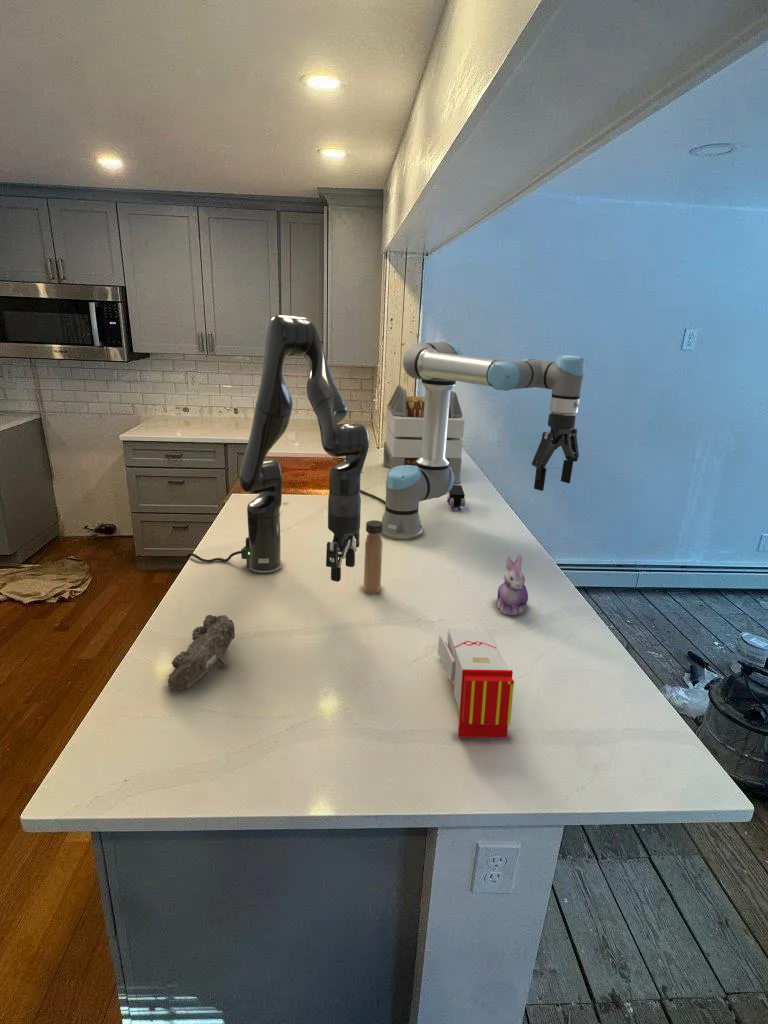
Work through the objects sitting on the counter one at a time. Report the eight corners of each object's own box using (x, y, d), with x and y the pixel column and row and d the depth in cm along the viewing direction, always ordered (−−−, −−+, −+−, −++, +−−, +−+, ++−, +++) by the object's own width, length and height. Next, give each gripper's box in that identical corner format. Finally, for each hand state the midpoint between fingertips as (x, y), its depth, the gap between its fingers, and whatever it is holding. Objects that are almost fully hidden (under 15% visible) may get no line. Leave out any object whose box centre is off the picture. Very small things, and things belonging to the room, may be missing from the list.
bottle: (382, 587, 161) (385, 523, 154) (376, 595, 157) (379, 529, 150) (367, 584, 163) (370, 520, 156) (360, 591, 158) (362, 525, 152)
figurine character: (465, 515, 224) (460, 499, 237) (467, 498, 221) (462, 483, 234) (448, 515, 224) (444, 499, 237) (450, 498, 220) (445, 482, 234)
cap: (385, 529, 155) (385, 522, 154) (378, 535, 151) (378, 527, 150) (370, 526, 156) (370, 519, 156) (363, 531, 152) (363, 524, 152)
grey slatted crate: (382, 463, 289) (386, 382, 275) (445, 464, 293) (451, 384, 279) (390, 482, 257) (394, 392, 243) (460, 483, 261) (468, 394, 247)
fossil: (190, 617, 133) (235, 588, 128) (218, 645, 136) (264, 617, 131) (146, 683, 113) (197, 651, 108) (180, 714, 116) (232, 684, 111)
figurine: (510, 620, 147) (517, 567, 142) (486, 602, 155) (492, 552, 150) (538, 612, 151) (545, 561, 146) (513, 595, 159) (519, 546, 154)
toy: (488, 613, 130) (523, 677, 101) (484, 667, 133) (517, 744, 104) (435, 612, 130) (455, 676, 101) (432, 666, 133) (451, 743, 103)
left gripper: (341, 498, 138) (340, 559, 144) (315, 517, 126) (315, 582, 131) (370, 503, 136) (368, 564, 141) (347, 522, 123) (345, 589, 129)
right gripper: (548, 419, 148) (537, 496, 155) (598, 411, 163) (586, 482, 171) (525, 414, 153) (515, 489, 160) (575, 407, 169) (564, 476, 176)
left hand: (343, 573), depth 136 cm, fingers open, 8 cm apart
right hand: (552, 485), depth 166 cm, fingers open, 13 cm apart
